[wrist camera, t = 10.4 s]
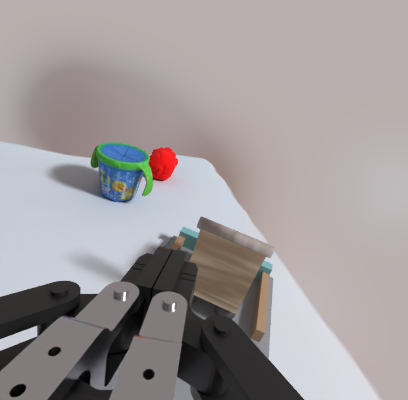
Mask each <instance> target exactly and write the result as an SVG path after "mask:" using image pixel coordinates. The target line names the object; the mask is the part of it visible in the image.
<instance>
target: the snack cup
mask: <svg viewBox="0 0 408 400" xmlns="http://www.w3.org/2000/svg"><path fill="white" fill-rule="evenodd" d="M149 159H150V157H149V155H148V154H147V153H146V152H145V151H143V150H142V149H139V148H137V147H135V146H131V145H128V144H123V143H113V142H111V143H103V144H100V145H98V146H97V147H96V148H95V149H94V152H93V155H92V158H91V166H92V167H93V168H97V167H99V183H100V192H101V194H103V195H104V196H105V197H107V198H109V199H111V200H113V201H127V200H131V199H132V198H133V197H134V196H135V194H136V192H137V189H138V187H139V184H140V182H141V179H142V176H143V173H144V177H145V179H146V186H145V189H144V192H143V194H142V196H146V195H148V194H149V193H150V192H151V190H152V187H153V176H152V171H151V168H150V166H149V165H148V163H149Z"/></svg>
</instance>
